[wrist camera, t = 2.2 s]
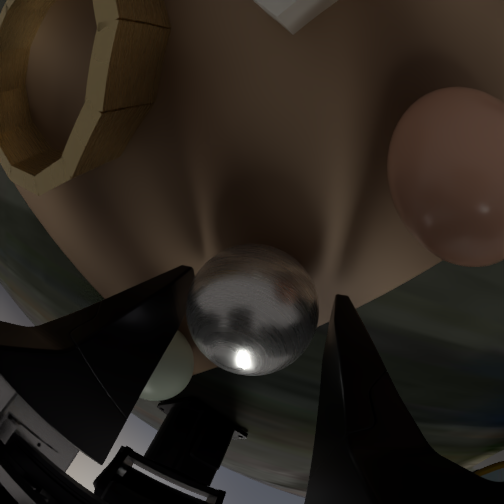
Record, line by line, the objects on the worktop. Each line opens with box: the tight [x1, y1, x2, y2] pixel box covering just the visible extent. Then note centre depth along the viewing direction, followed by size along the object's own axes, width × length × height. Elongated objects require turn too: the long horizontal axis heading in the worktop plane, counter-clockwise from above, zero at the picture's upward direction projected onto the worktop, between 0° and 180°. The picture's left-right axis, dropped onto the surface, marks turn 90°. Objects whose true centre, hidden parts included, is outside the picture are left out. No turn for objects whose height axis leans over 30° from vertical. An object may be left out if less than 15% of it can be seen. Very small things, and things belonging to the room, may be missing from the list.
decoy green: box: [140, 330, 194, 401], centre depth 12 cm, size 4×4×4 cm
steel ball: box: [186, 244, 319, 376], centre depth 9 cm, size 4×4×4 cm
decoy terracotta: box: [387, 87, 504, 267], centre depth 5 cm, size 4×4×4 cm
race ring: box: [0, 0, 171, 196], centre depth 7 cm, size 10×10×2 cm
